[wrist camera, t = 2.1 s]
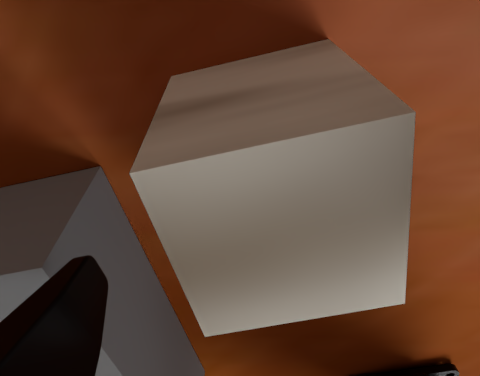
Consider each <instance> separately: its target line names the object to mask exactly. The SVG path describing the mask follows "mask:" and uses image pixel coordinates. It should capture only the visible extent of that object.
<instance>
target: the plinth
mask: <svg viewBox="0 0 480 376" xmlns="http://www.w3.org/2000/svg"><path fill="white" fill-rule="evenodd" d="M86 255H91V256H92V257H94V258H95V260H96V261H97V263H98V265H99V266H100V268H101V269H102V271H103V273H104V274H105V276H106V278H107V280H108V297H107V305H106V313H105V321H104V330H103V338H102V345H101V351H100V356H99V360H98V365H97V369H96V373H95V376H205V371H204V369H203V367H202V365H201V363H200V361H199V359H198V357H197V355H196V353H195V351H194V349H193V347H192V345H191V343H190V341H189V339H188V337H187V335H186V333H185V331H184V329H183V327H182V325H181V323H180V322H179V320H178V318H177V316H176V314H175V312H174V310H173V308H172V306H171V304H170V302H169V300H168V298H167V296H166V294H165V292H164V290H163V288H162V286H161V284H160V282H159V280H158V278H157V276H156V274H155V272H154V270H153V268H152V266H151V264H150V262H149V260H148V258H147V256H146V254H145V253H144V251H143V249H142V247H141V245H140V243H139V241H138V239H137V237H136V235H135V233H134V231H133V229H132V227H131V225H130V223H129V221H128V219H127V217H126V215H125V213H124V211H123V209H122V207H121V205H120V203H119V201H118V199H117V197H116V195H115V193H114V191H113V189H112V187H111V185H110V183H109V182H108V180H107V178H106V176H105V174H104V172H103V170H102V168H101V166H99V167H94V168H90V169H85V170H81V171H76V172H71V173H67V174H62V175H58V176H53V177H48V178H44V179H39V180H34V181H30V182H25V183H21V184H16V185H11V186H7V187H2V188H0V322H1V321H2V320H3V319H4V318H6V317H7V316H8V315H9V314H10V313H11V312H12V311H14V310H15V309H16V308H17V307H18V306H19V305H20V304H21V303H23V302H24V301H25V300H26V299H27V298H28V297H29V296H31V295H32V294H33V293H34V292H35V291H36V290H37V289H38V288H40V287H41V286H42V285H43V284H44V283H45V282H46V281H48V280H49V279H50V278H51V277H52V276H53V275H54V274H55V273H57V272H58V271H59V270H60V269H61V268H62V267H63V266H65V265H66V264H67V263H68V262H69V261H70V260H71V259H73V258H76V257H80V256H86Z"/></svg>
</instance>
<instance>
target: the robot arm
mask: <svg viewBox="0 0 480 376" xmlns="http://www.w3.org/2000/svg"><path fill="white" fill-rule="evenodd" d="M107 297H108V280H107V278H106V276H105V274H104V273H103V271H102V269H101V268H100V266H99V265H98V263H97V261H96V260H95V258H94V257H92V256H91V255H86V256H80V257H76V258H73V259H71V260H70V261H69V262H68V263H67V264H66V265H65V266H63V267H62V268H61V269H60V270H59V271H58V272H57V273H55V274H54V275H53V276H52V277H51V278H50V279H49V280H48V281H46V282H45V283H44V284H43V285H42V286H41V287H40V288H38V289H37V290H36V291H35V292H34V293H33V294H32V295H31V296H29V297H28V298H27V299H26V300H25V301H24V302H23V303H21V304H20V305H19V306H18V307H17V308H16V309H15V310H14V311H12V312H11V313H10V314H9V315H8V316H7V317H6V318H4V319H3V320H2V321H1V322H0V376H95V373H96V369H97V365H98V360H99V356H100V351H101V345H102V338H103V330H104V321H105V313H106V305H107ZM370 376H459V372H458V370H457V368H456V366H455V365H454V364H444V365H437V366H430V367H424V368H417V369H410V370H403V371H397V372H390V373H383V374H377V375H370Z"/></svg>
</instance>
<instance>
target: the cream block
mask: <svg viewBox="0 0 480 376" xmlns="http://www.w3.org/2000/svg"><path fill="white" fill-rule="evenodd" d="M415 113H416V112H415V111H414V110H413V109H411V108H410V107H409V106H408V105H407V104H406V103H404V102H403V101H402V100H401V99H400V98H398V97H397V96H396V95H395V94H394V93H392V92H391V91H390V90H389V89H388V88H386V87H385V86H384V85H383V84H382V83H380V82H379V81H378V80H377V79H376V78H375V77H373V76H372V75H371V74H370V73H369V72H367V71H366V70H365V69H364V68H363V67H361V66H360V65H359V64H358V63H357V62H355V61H354V60H353V59H352V58H351V57H349V56H348V55H347V54H346V53H345V52H344V51H342V50H341V49H340V48H339V47H338V46H336V45H335V44H334V43H333V42H332V41H330V40H329V39H326V40H322V41H318V42H314V43H309V44H305V45H301V46H297V47H293V48H288V49H284V50H280V51H276V52H272V53H267V54H263V55H259V56H255V57H250V58H246V59H242V60H238V61H234V62H229V63H225V64H221V65H217V66H212V67H208V68H204V69H200V70H196V71H191V72H187V73H183V74H179V75H174V76H171V78H170V80H169V82H168V85H167V87H166V89H165V92H164V94H163V96H162V99H161V101H160V103H159V106H158V108H157V110H156V113H155V115H154V117H153V120H152V122H151V124H150V126H149V129H148V131H147V133H146V136H145V138H144V140H143V143H142V145H141V147H140V150H139V152H138V154H137V157H136V159H135V161H134V164H133V166H132V168H131V170H130V173H129V174H130V176H131V178H132V180H133V182H134V185H135V187H136V189H137V191H138V193H139V195H140V198H141V200H142V202H143V204H144V206H145V208H146V211H147V213H148V215H149V217H150V219H151V221H152V224H153V226H154V228H155V230H156V232H157V234H158V237H159V239H160V241H161V243H162V245H163V247H164V250H165V252H166V254H167V256H168V258H169V260H170V263H171V265H172V267H173V269H174V271H175V273H176V276H177V278H178V280H179V282H180V284H181V286H182V289H183V291H184V293H185V295H186V297H187V299H188V302H189V304H190V306H191V308H192V310H193V312H194V314H195V317H196V319H197V321H198V323H199V325H200V327H201V330H202V332H203V334H204V336H205V337H208V336H214V335H220V334H226V333H232V332H238V331H244V330H250V329H256V328H262V327H268V326H274V325H280V324H286V323H292V322H298V321H304V320H310V319H316V318H322V317H328V316H334V315H340V314H346V313H352V312H358V311H364V310H370V309H376V308H382V307H387V306H393V305H399V304H405V294H406V276H407V257H408V239H409V221H410V203H411V185H412V167H413V149H414V131H415Z"/></svg>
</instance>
